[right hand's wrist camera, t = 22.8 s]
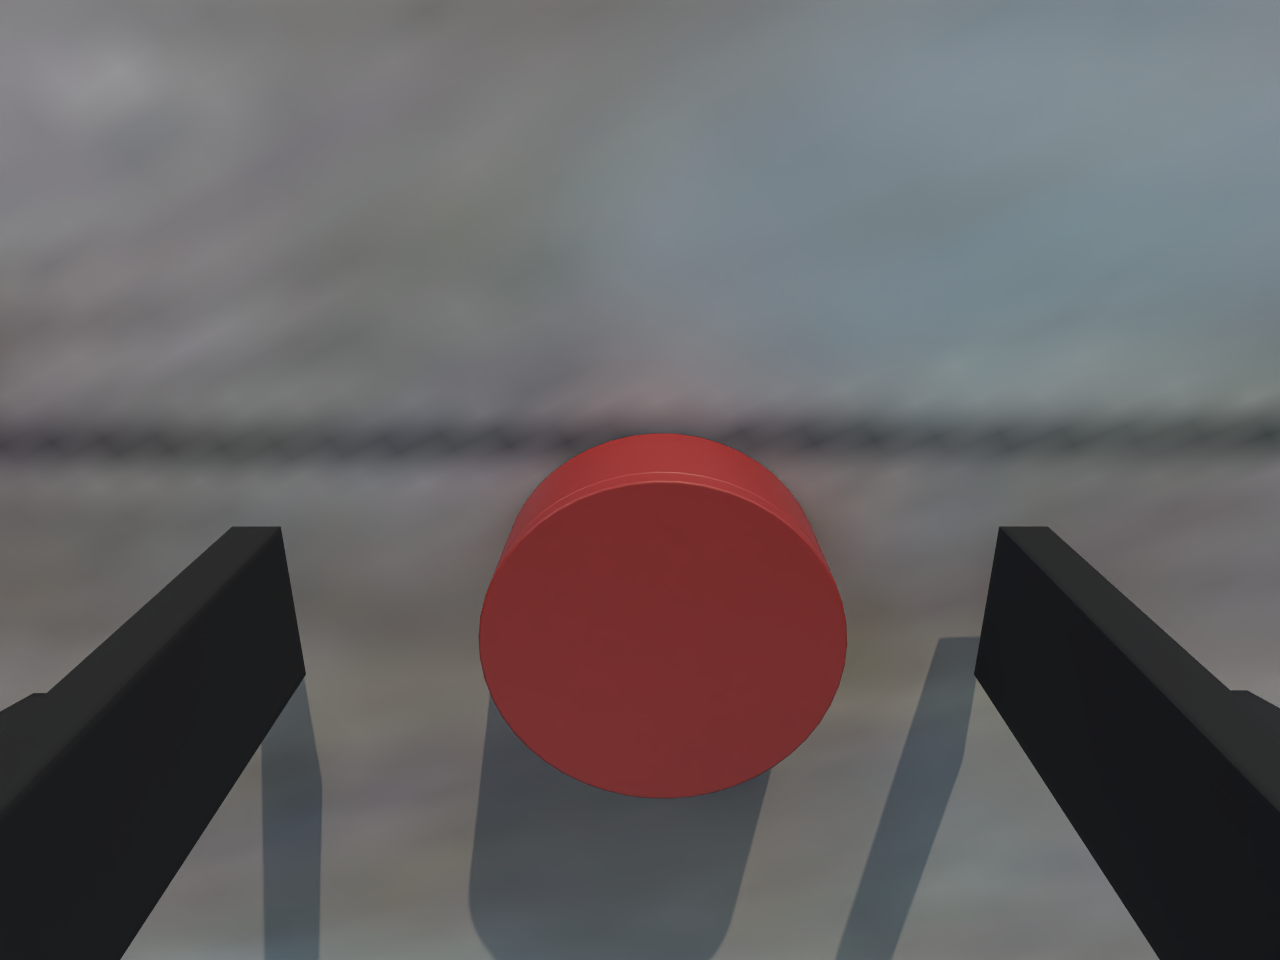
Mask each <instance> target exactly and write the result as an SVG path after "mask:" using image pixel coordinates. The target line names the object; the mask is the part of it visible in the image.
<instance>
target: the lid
mask: <svg viewBox="0 0 1280 960" xmlns="http://www.w3.org/2000/svg"><path fill="white" fill-rule="evenodd" d="M846 648H847V632H846V620H845V615H844V609H843V604H842V601H841V598H840V595H839V592H838V589H837V586H836V584H835V581H834V579H833V576H832V574H831V572H830V569H829V567H828V565H827V562H826V560H825V558H824V555H823V553H822V551H821V549H820V546H819V544H818V542H817V539H816V537H815V535H814V532H813V530H812V528H811V525H810V523H809V521H808V519H807V517H806V515H805V514H804V512H803V510H802V508H801V506H800V505H799V503H798V502H797V501H796V499H795V498H794V496H793V495H792V494H791V492H790V491H789V490H788V489H787V488H786V487H785V486H784V485H783V483H782V482H781V481H780V480H779V479H778V478H777V477H776V476H775V475H774V474H772V473H771V472H770V471H768V470H767V469H766V468H765V467H763V466H762V465H761V464H759V463H758V462H757V461H755V460H753V459H751V458H750V457H748V456H746V455H745V454H743V453H741V452H739V451H737V450H735V449H732V448H730V447H728V446H725V445H723V444H720V443H718V442H714V441H710V440H707V439H703V438H699V437H694V436H687V435H680V434H645V435H636V436H629V437H625V438H621V439H617V440H612V441H609V442H606V443H604V444H601V445H598V446H596V447H593V448H590V449H588V450H587V451H585V452H583V453H581V454H579V455H577V456H575V457H573V458H571V459H570V460H569V461H567V462H566V463H564V464H563V465H562V466H560V467H559V468H557V469H556V470H555V471H553V472H552V473H551V474H550V475H549V476H548V477H547V478H546V479H545V480H544V481H543V482H542V483H541V484H540V485H539V486H538V487H537V488H536V490H535V491H534V492H533V493H532V495H531V496H530V497H529V498H528V499H527V501H526V502H525V504H524V506H523V508H522V509H521V511H520V513H519V514H518V516H517V518H516V520H515V523H514V525H513V527H512V530H511V532H510V535H509V537H508V540H507V542H506V545H505V547H504V550H503V552H502V555H501V558H500V560H499V563H498V565H497V568H496V570H495V573H494V575H493V578H492V580H491V583H490V585H489V588H488V590H487V593H486V596H485V600H484V604H483V608H482V612H481V616H480V627H479V650H480V660H481V664H482V669H483V674H484V678H485V681H486V683H487V686H488V689H489V691H490V694H491V697H492V699H493V701H494V703H495V704H496V706H497V708H498V710H499V712H500V714H501V715H502V717H503V718H504V720H505V721H506V722H507V724H508V725H509V727H510V728H511V729H512V731H513V732H514V733H515V734H516V735H517V736H518V737H519V738H520V740H521V741H522V742H523V743H524V744H525V745H526V746H527V747H528V748H529V749H530V750H532V751H533V752H534V753H535V754H537V755H538V756H539V757H540V758H541V759H543V760H544V761H545V762H547V763H548V764H550V765H551V766H553V767H555V768H556V769H558V770H559V771H561V772H562V773H564V774H566V775H568V776H570V777H572V778H574V779H577V780H579V781H581V782H583V783H585V784H588V785H591V786H594V787H597V788H599V789H602V790H606V791H610V792H614V793H618V794H623V795H628V796H636V797H644V798H681V797H692V796H697V795H703V794H708V793H713V792H717V791H720V790H723V789H726V788H730V787H733V786H736V785H738V784H740V783H743V782H745V781H747V780H750V779H752V778H754V777H756V776H758V775H760V774H762V773H763V772H765V771H767V770H769V769H770V768H772V767H774V766H775V765H776V764H778V763H779V762H781V761H782V760H783V759H785V758H786V757H787V756H789V755H790V754H791V753H792V752H793V751H794V750H795V749H797V748H798V747H799V746H800V745H801V744H802V743H803V742H804V741H805V740H806V739H807V738H808V736H809V735H810V734H811V733H812V732H813V730H814V729H815V728H816V727H817V725H818V724H819V723H820V721H821V720H822V718H823V716H824V715H825V713H826V712H827V710H828V708H829V707H830V705H831V703H832V700H833V698H834V696H835V694H836V691H837V689H838V687H839V684H840V680H841V676H842V673H843V669H844V665H845V657H846Z"/></svg>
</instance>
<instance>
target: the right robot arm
mask: <svg viewBox="0 0 1280 960" xmlns="http://www.w3.org/2000/svg"><path fill="white" fill-rule="evenodd" d="M305 675H306V672H305V666H304V661H303V655H302V649H301V643H300V637H299V631H298V625H297V620H296V614H295V608H294V602H293V596H292V590H291V585H290V579H289V573H288V567H287V561H286V555H285V549H284V544H283V538H282V532H281V527H231V528H230V529H229V530H228V531H227V532H226V533H225V534H224V535H222V536H221V537H220V538H219V539H218V540H217V541H216V542H215V543H214V544H212V545H211V546H210V547H209V548H208V549H207V550H206V551H205V552H204V553H202V554H201V555H200V556H199V557H198V558H197V559H196V560H195V561H194V562H192V563H191V564H190V565H189V566H188V567H187V568H186V569H185V570H183V571H182V572H181V573H180V574H179V575H178V576H177V577H176V578H175V579H173V580H172V581H171V582H170V583H169V584H168V585H167V586H166V587H165V588H163V589H162V590H161V591H160V592H159V593H158V594H157V595H156V596H155V597H153V598H152V599H151V600H150V601H149V602H148V603H147V604H146V605H144V606H143V607H142V608H141V609H140V610H139V611H138V612H137V613H136V614H134V615H133V616H132V617H131V618H130V619H129V620H128V621H127V622H126V623H124V624H123V625H122V626H121V627H120V628H119V629H118V630H117V631H116V632H114V633H113V634H112V635H111V636H110V637H109V638H108V639H107V640H105V641H104V642H103V643H102V644H101V645H100V646H99V647H98V648H97V649H95V650H94V651H93V652H92V653H91V654H90V655H89V656H88V657H87V658H85V659H84V660H83V661H82V662H81V663H80V664H79V665H78V666H77V667H75V668H74V669H73V670H72V671H71V672H70V673H69V674H68V675H66V676H65V677H64V678H63V679H62V680H61V681H60V682H59V683H58V684H56V685H55V686H54V687H53V688H52V689H51V690H50V691H49V692H48V693H33V694H31V695H30V696H28V697H26V698H24V699H22V700H21V701H19V702H17V703H15V704H13V705H12V706H10V707H8V708H6V709H4V710H3V711H1V712H0V960H120V959H121V958H122V956H123V954H124V953H125V951H126V950H127V948H128V947H129V945H130V944H131V942H132V941H133V939H134V938H135V936H136V935H137V933H138V931H139V930H140V928H141V927H142V925H143V924H144V922H145V921H146V919H147V918H148V916H149V915H150V913H151V911H152V910H153V908H154V907H155V905H156V904H157V902H158V901H159V899H160V898H161V896H162V895H163V893H164V891H165V890H166V888H167V887H168V885H169V884H170V882H171V881H172V879H173V878H174V876H175V875H176V873H177V872H178V870H179V868H180V867H181V865H182V864H183V862H184V861H185V859H186V858H187V856H188V855H189V853H190V852H191V850H192V848H193V847H194V845H195V844H196V842H197V841H198V839H199V838H200V836H201V835H202V833H203V832H204V830H205V828H206V827H207V825H208V824H209V822H210V821H211V819H212V818H213V816H214V815H215V813H216V812H217V810H218V809H219V807H220V805H221V804H222V802H223V801H224V799H225V798H226V796H227V795H228V793H229V792H230V790H231V789H232V787H233V785H234V784H235V782H236V781H237V779H238V778H239V776H240V775H241V773H242V772H243V770H244V769H245V767H246V765H247V764H248V762H249V761H250V759H251V758H252V756H253V755H254V753H255V752H256V750H257V749H258V747H259V746H260V744H261V742H262V741H263V739H264V738H265V736H266V735H267V733H268V732H269V730H270V729H271V727H272V726H273V724H274V722H275V721H276V719H277V718H278V716H279V715H280V713H281V712H282V710H283V709H284V707H285V706H286V704H287V702H288V701H289V699H290V698H291V696H292V695H293V693H294V692H295V690H296V689H297V687H298V686H299V684H300V683H301V681H302V679H303V678H304V676H305ZM974 675H975V676H976V678H977V679H978V681H979V683H980V684H981V686H982V687H983V689H984V690H985V692H986V693H987V695H988V696H989V698H990V699H991V701H992V703H993V704H994V706H995V707H996V709H997V710H998V712H999V713H1000V715H1001V716H1002V718H1003V719H1004V721H1005V723H1006V724H1007V726H1008V727H1009V729H1010V730H1011V732H1012V733H1013V735H1014V736H1015V738H1016V739H1017V741H1018V742H1019V744H1020V746H1021V747H1022V749H1023V750H1024V752H1025V753H1026V755H1027V756H1028V758H1029V759H1030V761H1031V762H1032V764H1033V766H1034V767H1035V769H1036V770H1037V772H1038V773H1039V775H1040V776H1041V778H1042V779H1043V781H1044V782H1045V784H1046V786H1047V787H1048V789H1049V790H1050V792H1051V793H1052V795H1053V796H1054V798H1055V799H1056V801H1057V802H1058V804H1059V805H1060V807H1061V809H1062V810H1063V812H1064V813H1065V815H1066V816H1067V818H1068V819H1069V821H1070V822H1071V824H1072V825H1073V827H1074V829H1075V830H1076V832H1077V833H1078V835H1079V836H1080V838H1081V839H1082V841H1083V842H1084V844H1085V845H1086V847H1087V849H1088V850H1089V852H1090V853H1091V855H1092V856H1093V858H1094V859H1095V861H1096V862H1097V864H1098V865H1099V867H1100V868H1101V870H1102V872H1103V873H1104V875H1105V876H1106V878H1107V879H1108V881H1109V882H1110V884H1111V885H1112V887H1113V888H1114V890H1115V892H1116V893H1117V895H1118V896H1119V898H1120V899H1121V901H1122V902H1123V904H1124V905H1125V907H1126V908H1127V910H1128V912H1129V913H1130V915H1131V916H1132V918H1133V919H1134V921H1135V922H1136V924H1137V925H1138V927H1139V928H1140V930H1141V932H1142V933H1143V935H1144V936H1145V938H1146V939H1147V941H1148V942H1149V944H1150V945H1151V947H1152V948H1153V950H1154V951H1155V953H1156V955H1157V956H1158V958H1159V959H1160V960H1280V708H1278V707H1276V706H1274V705H1273V704H1271V703H1269V702H1267V701H1265V700H1264V699H1262V698H1260V697H1258V696H1256V695H1255V694H1253V693H1251V692H1249V691H1230V690H1229V689H1228V688H1227V687H1226V686H1225V685H1224V684H1222V683H1221V682H1220V681H1219V680H1218V679H1217V678H1216V677H1215V676H1213V675H1212V674H1211V673H1210V672H1209V671H1208V670H1207V669H1206V668H1205V667H1203V666H1202V665H1201V664H1200V663H1199V662H1198V661H1197V660H1196V659H1195V658H1193V657H1192V656H1191V655H1190V654H1189V653H1188V652H1187V651H1186V650H1185V649H1183V648H1182V647H1181V646H1180V645H1179V644H1178V643H1177V642H1176V641H1174V640H1173V639H1172V638H1171V637H1170V636H1169V635H1168V634H1167V633H1166V632H1164V631H1163V630H1162V629H1161V628H1160V627H1159V626H1158V625H1157V624H1156V623H1154V622H1153V621H1152V620H1151V619H1150V618H1149V617H1148V616H1147V615H1146V614H1144V613H1143V612H1142V611H1141V610H1140V609H1139V608H1138V607H1137V606H1135V605H1134V604H1133V603H1132V602H1131V601H1130V600H1129V599H1128V598H1127V597H1125V596H1124V595H1123V594H1122V593H1121V592H1120V591H1119V590H1118V589H1117V588H1115V587H1114V586H1113V585H1112V584H1111V583H1110V582H1109V581H1108V580H1107V579H1105V578H1104V577H1103V576H1102V575H1101V574H1100V573H1099V572H1098V571H1096V570H1095V569H1094V568H1093V567H1092V566H1091V565H1090V564H1089V563H1088V562H1086V561H1085V560H1084V559H1083V558H1082V557H1081V556H1080V555H1079V554H1078V553H1076V552H1075V551H1074V550H1073V549H1072V548H1071V547H1070V546H1069V545H1067V544H1066V543H1065V542H1064V541H1063V540H1062V539H1061V538H1060V537H1059V536H1057V535H1056V534H1055V533H1054V532H1053V531H1052V530H1051V529H1050V528H1049V527H999V532H998V537H997V543H996V549H995V555H994V561H993V567H992V573H991V578H990V584H989V590H988V596H987V602H986V608H985V614H984V619H983V625H982V631H981V637H980V643H979V649H978V655H977V660H976V666H975V672H974Z"/></svg>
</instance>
